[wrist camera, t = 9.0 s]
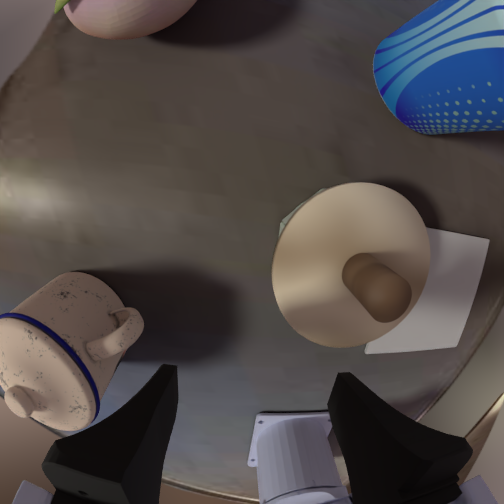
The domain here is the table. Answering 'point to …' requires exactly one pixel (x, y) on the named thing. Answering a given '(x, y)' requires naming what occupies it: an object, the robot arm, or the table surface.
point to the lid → (350, 264)
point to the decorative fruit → (123, 16)
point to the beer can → (446, 68)
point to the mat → (440, 296)
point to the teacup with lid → (64, 350)
